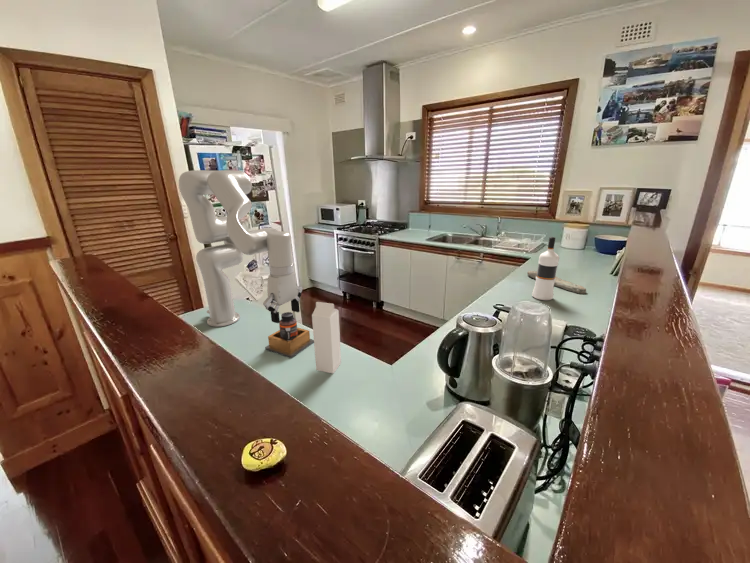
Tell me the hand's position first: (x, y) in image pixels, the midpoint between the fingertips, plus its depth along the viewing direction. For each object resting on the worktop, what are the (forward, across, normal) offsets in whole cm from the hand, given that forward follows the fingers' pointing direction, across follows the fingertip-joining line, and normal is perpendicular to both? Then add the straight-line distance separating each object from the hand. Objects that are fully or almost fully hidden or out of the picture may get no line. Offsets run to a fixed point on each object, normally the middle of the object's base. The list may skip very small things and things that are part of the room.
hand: (286, 316), depth 108 cm
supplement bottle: (+11, 0, +1) cm, 11 cm away
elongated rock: (+10, -119, +84) cm, 146 cm away
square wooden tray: (+11, 0, +1) cm, 11 cm away
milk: (+11, +4, +21) cm, 24 cm away
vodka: (+10, -93, +79) cm, 122 cm away
